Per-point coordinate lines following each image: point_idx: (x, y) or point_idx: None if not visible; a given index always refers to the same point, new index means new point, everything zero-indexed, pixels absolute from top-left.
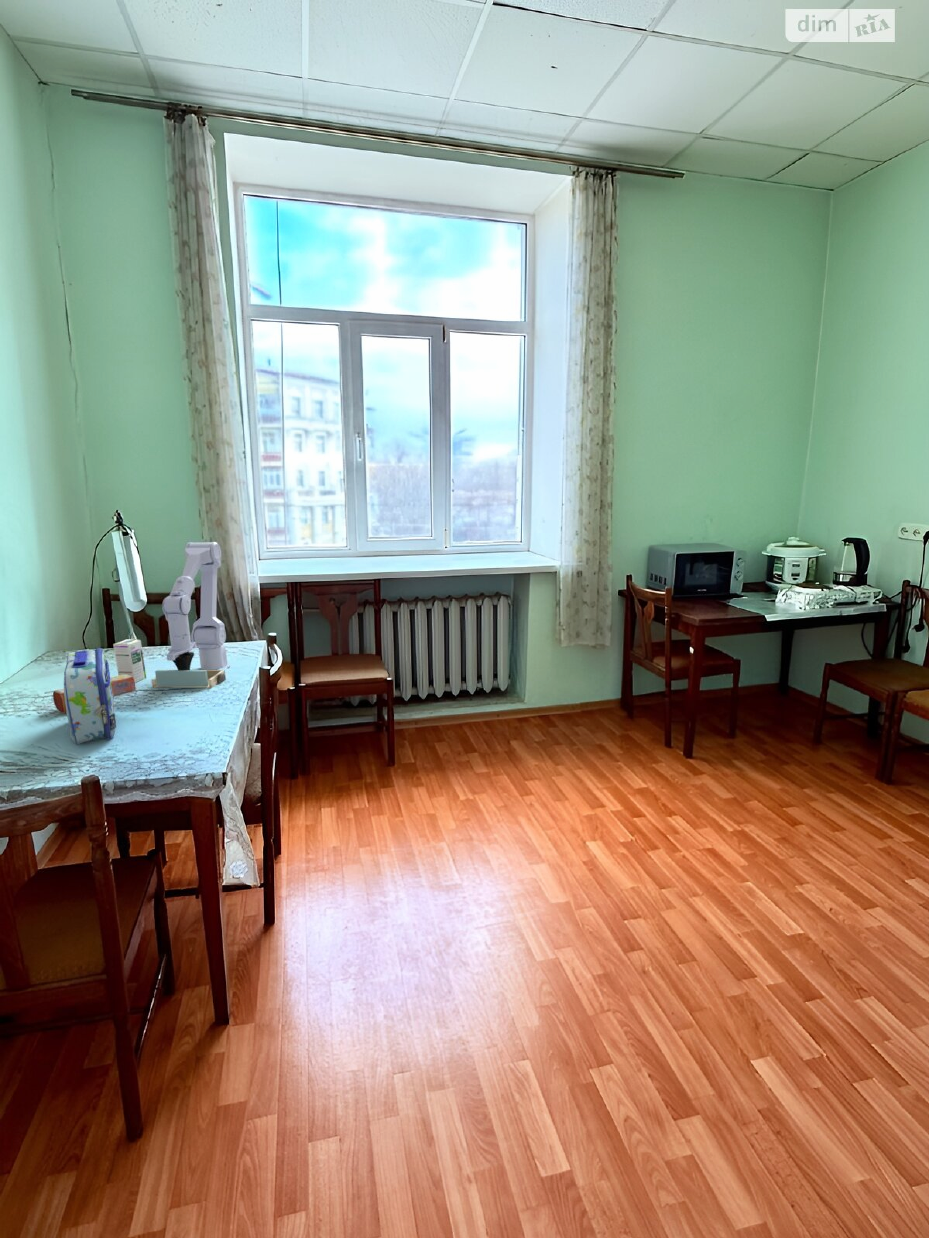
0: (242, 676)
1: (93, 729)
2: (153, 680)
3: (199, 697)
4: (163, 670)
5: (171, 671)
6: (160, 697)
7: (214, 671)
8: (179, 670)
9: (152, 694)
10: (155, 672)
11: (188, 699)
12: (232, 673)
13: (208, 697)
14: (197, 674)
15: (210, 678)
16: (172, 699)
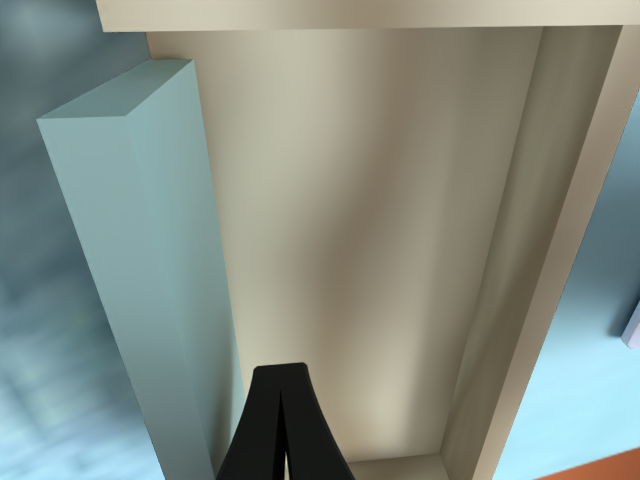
0: (534, 456)
1: None
2: (105, 16)
3: (128, 436)
4: (139, 279)
5: (141, 405)
6: (18, 183)
7: (469, 474)
8: (198, 475)
9: (68, 29)
10: (52, 116)
11: (67, 402)
12: (620, 393)
13: (143, 472)
14: None
15: (444, 399)
16: (19, 310)
